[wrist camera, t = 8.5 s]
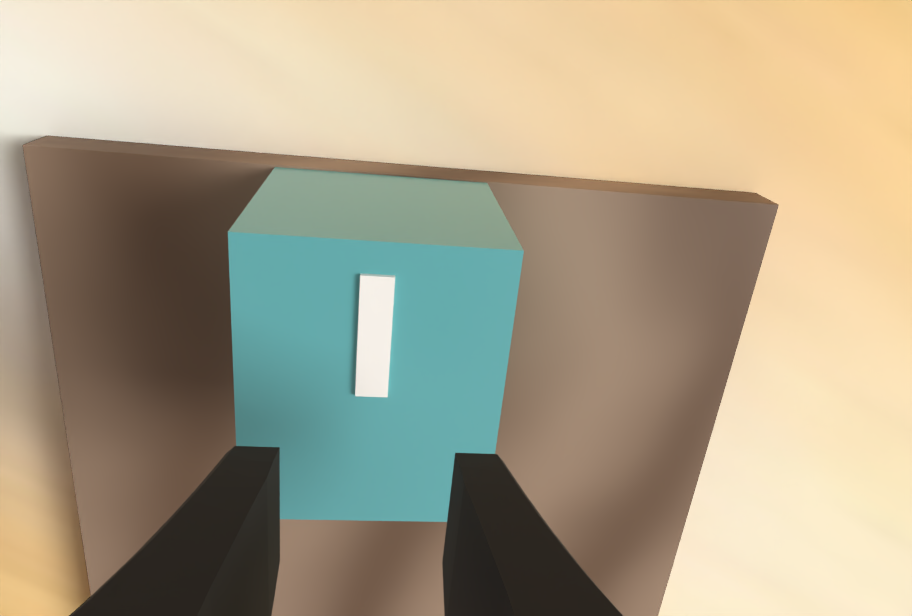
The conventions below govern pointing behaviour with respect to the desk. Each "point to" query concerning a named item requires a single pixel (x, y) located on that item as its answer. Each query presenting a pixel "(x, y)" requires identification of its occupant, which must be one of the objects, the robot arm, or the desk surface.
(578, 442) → the plate
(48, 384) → the desk surface
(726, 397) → the desk surface
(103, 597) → the robot arm
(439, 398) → the teal mini fridge
